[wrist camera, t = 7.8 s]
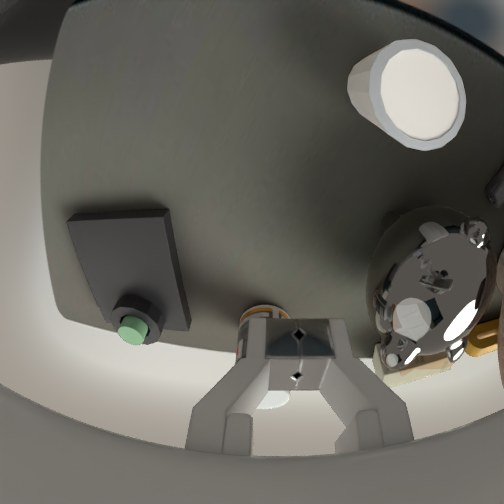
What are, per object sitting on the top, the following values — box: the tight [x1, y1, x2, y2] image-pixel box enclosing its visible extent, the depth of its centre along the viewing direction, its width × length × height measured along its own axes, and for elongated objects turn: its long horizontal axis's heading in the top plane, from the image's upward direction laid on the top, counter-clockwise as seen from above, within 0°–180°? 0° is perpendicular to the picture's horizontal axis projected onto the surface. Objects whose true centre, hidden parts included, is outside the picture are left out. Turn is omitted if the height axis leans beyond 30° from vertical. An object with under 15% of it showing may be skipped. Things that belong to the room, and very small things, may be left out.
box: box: [373, 343, 455, 388], centre depth 31 cm, size 5×4×11 cm
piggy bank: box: [366, 206, 497, 370], centre depth 20 cm, size 11×15×12 cm
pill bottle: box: [235, 305, 290, 409], centre depth 27 cm, size 6×6×10 cm
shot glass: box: [347, 39, 466, 151], centre depth 15 cm, size 7×7×7 cm
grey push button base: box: [66, 209, 192, 345], centre depth 27 cm, size 15×11×4 cm
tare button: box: [118, 315, 148, 345], centre depth 28 cm, size 3×3×2 cm
